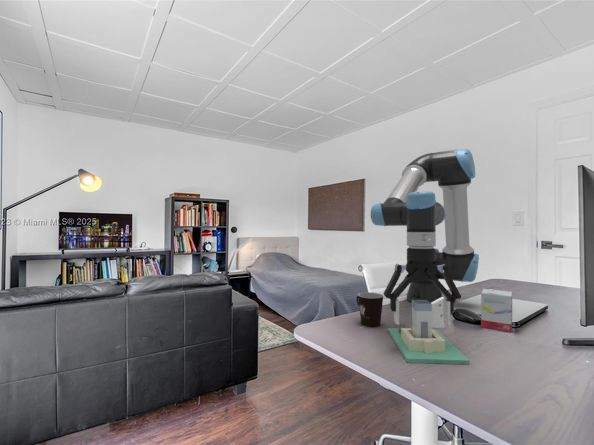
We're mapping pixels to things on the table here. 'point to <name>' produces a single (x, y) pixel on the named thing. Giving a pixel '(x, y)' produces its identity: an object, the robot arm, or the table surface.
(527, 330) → the table surface
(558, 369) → the table surface
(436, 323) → the white wedge bracket
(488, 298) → the ink box
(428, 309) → the plug
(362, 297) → the coffee mug
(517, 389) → the table surface
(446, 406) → the table surface
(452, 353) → the board
